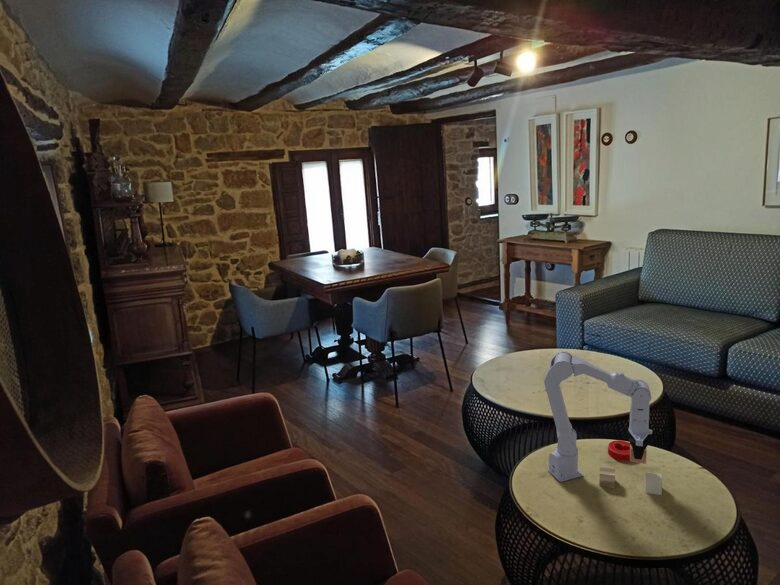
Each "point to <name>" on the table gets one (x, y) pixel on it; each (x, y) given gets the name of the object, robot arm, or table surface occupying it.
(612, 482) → the beech cube
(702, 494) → the table surface
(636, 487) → the table surface
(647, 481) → the cream cube
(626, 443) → the decorative ornament
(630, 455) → the terracotta cube
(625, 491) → the table surface
